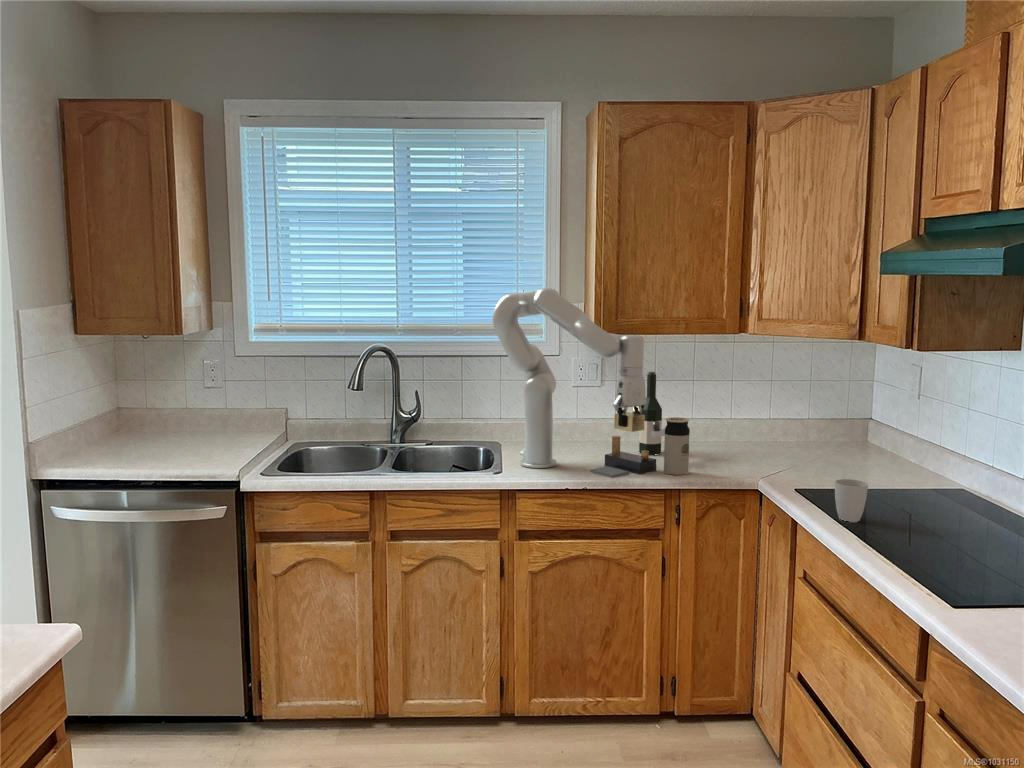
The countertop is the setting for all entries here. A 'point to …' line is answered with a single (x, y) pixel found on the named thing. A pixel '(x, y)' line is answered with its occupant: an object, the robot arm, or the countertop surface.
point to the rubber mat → (609, 471)
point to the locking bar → (657, 430)
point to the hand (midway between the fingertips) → (629, 424)
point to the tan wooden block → (631, 422)
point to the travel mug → (676, 446)
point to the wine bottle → (651, 418)
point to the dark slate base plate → (629, 459)
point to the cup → (850, 499)
